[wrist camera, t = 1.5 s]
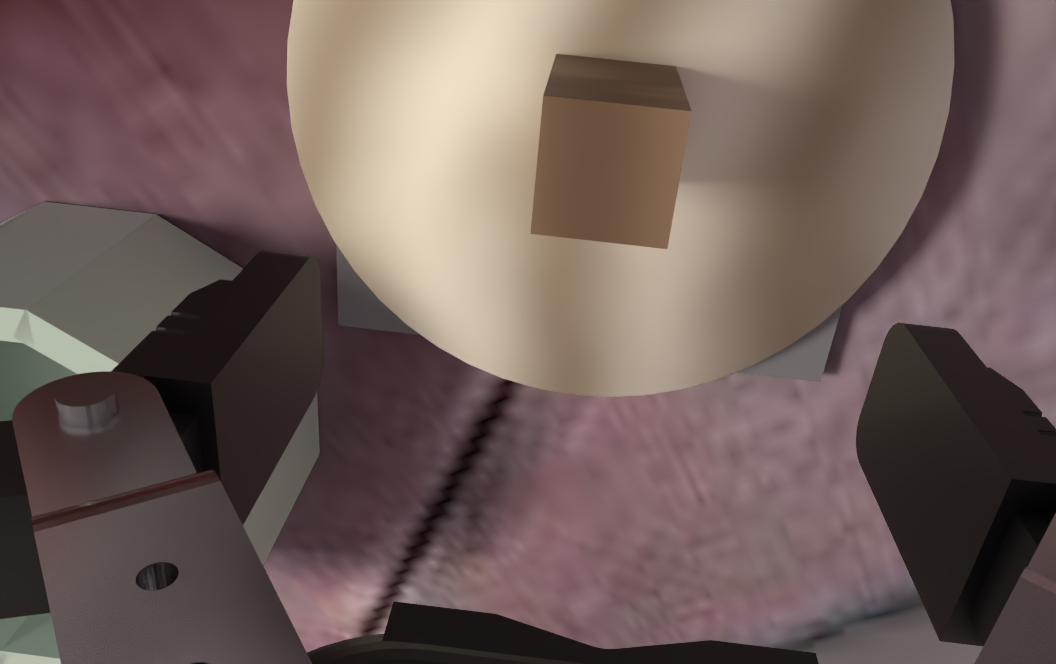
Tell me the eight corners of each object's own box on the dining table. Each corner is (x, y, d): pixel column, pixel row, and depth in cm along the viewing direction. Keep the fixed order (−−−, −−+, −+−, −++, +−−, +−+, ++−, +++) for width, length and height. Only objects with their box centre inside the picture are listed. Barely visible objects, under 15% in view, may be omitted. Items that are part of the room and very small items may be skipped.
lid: (1045, -236, 20) (1203, -278, 14) (843, 410, 28) (896, 532, 23) (282, -305, 20) (167, -370, 15) (309, 347, 29) (242, 452, 24)
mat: (977, -189, 21) (987, -190, 20) (816, 372, 28) (820, 381, 28) (331, -249, 21) (324, -251, 21) (343, 317, 29) (338, 325, 28)
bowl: (311, 231, 28) (225, 333, 21) (323, 556, 34) (260, 705, 28) (-108, 184, 28) (-311, 269, 22) (-15, 514, 35) (-150, 651, 29)
